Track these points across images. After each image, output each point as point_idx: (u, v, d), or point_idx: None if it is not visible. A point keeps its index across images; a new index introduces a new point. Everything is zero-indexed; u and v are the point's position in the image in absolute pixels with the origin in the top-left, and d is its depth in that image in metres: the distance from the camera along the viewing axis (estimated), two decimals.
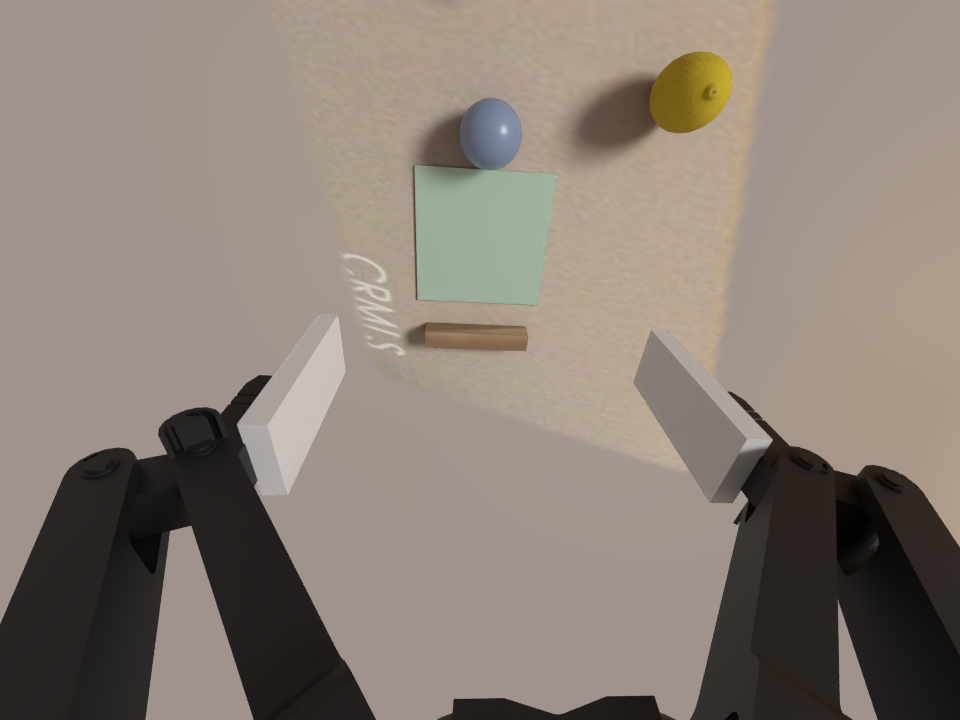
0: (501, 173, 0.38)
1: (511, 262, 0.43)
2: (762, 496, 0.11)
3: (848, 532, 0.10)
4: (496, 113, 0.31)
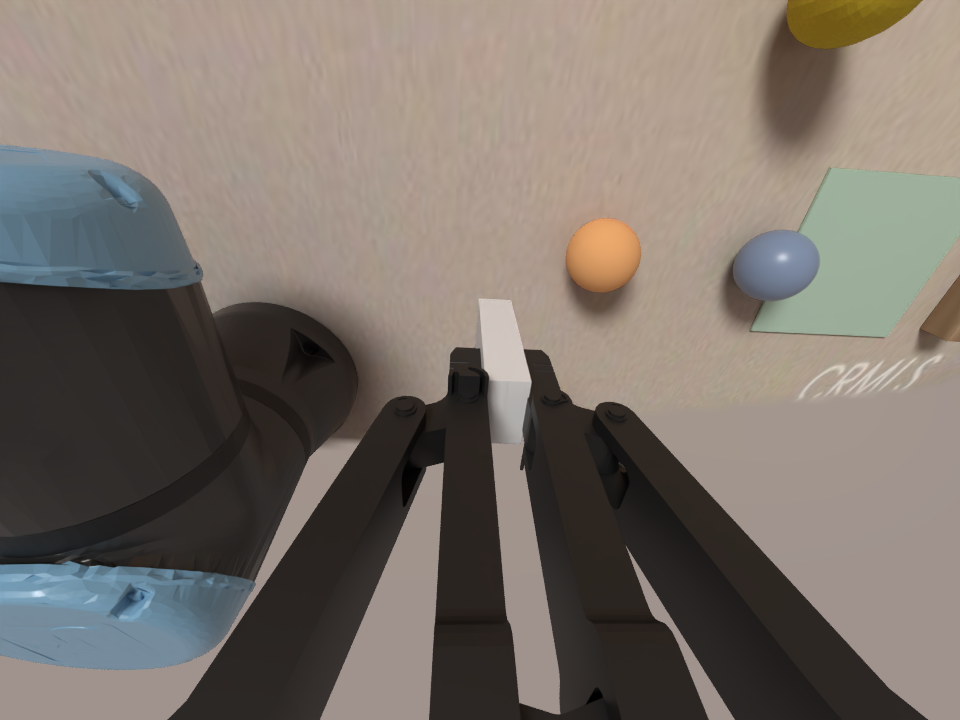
0: None
1: (910, 223, 0.32)
2: (532, 441, 0.12)
3: None
4: (774, 271, 0.29)
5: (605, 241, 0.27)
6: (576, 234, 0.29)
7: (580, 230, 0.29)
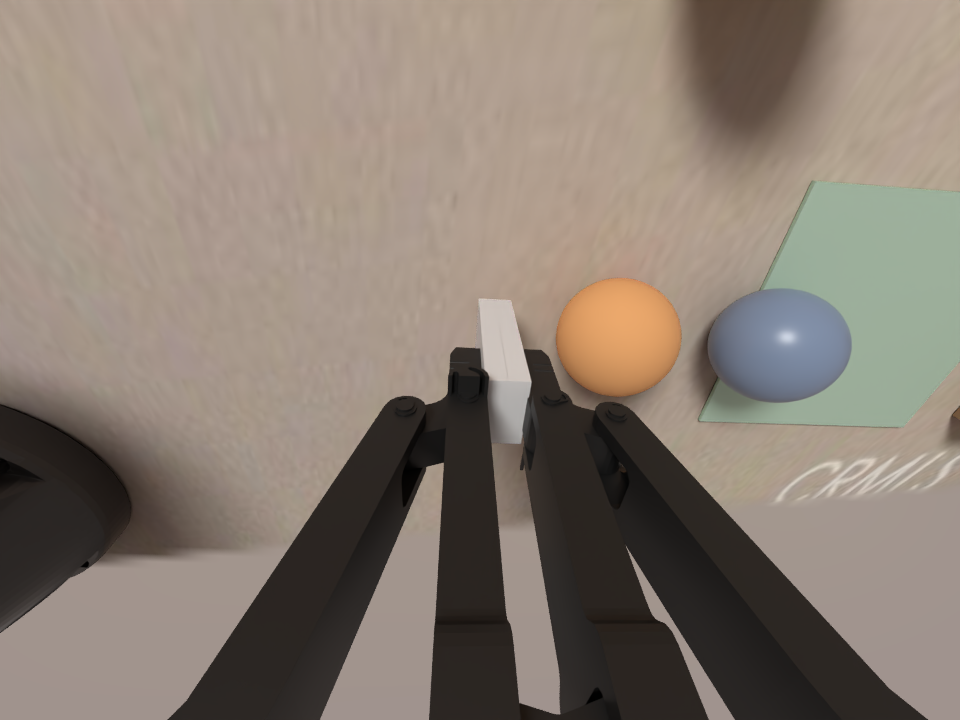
0: None
1: (945, 270, 0.20)
2: (533, 440, 0.12)
3: None
4: (834, 372, 0.17)
5: None
6: (677, 316, 0.17)
7: (673, 309, 0.17)
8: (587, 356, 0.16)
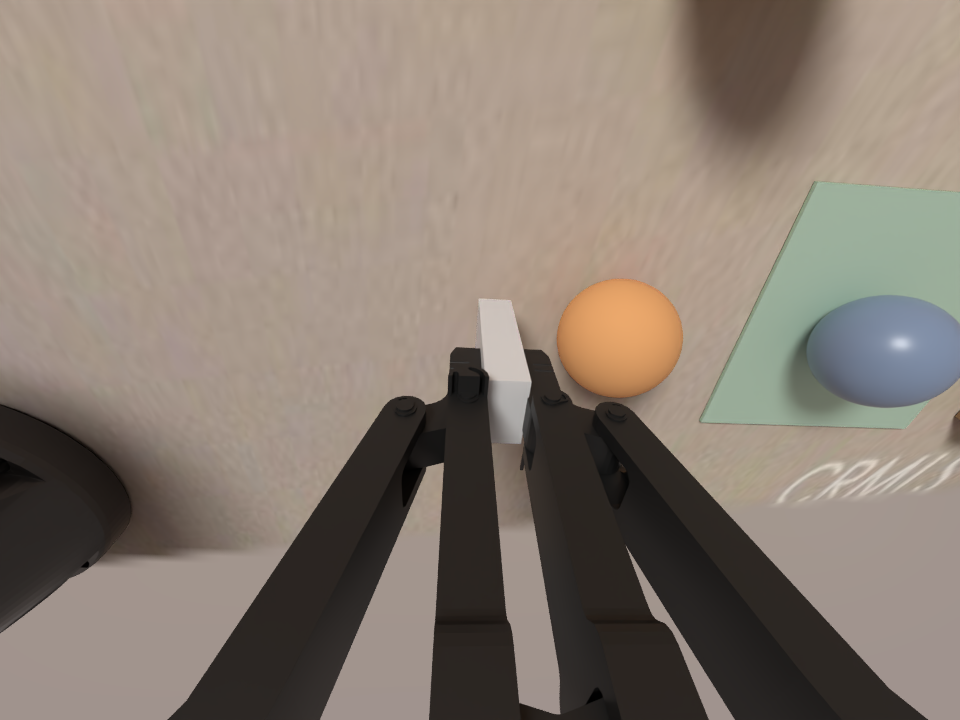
0: (766, 298, 0.20)
1: (948, 271, 0.20)
2: (533, 441, 0.12)
3: None
4: None
5: None
6: (678, 317, 0.17)
7: (675, 309, 0.17)
8: (588, 357, 0.16)
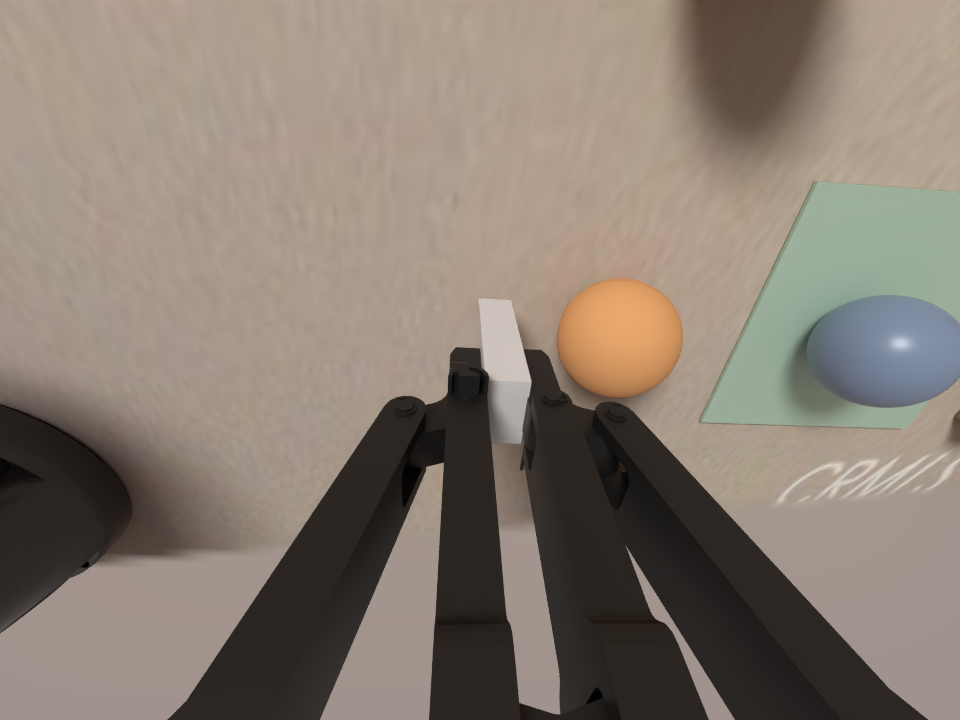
0: (766, 298, 0.20)
1: (948, 271, 0.20)
2: (533, 441, 0.12)
3: None
4: None
5: None
6: (678, 317, 0.17)
7: (675, 309, 0.17)
8: (588, 357, 0.16)
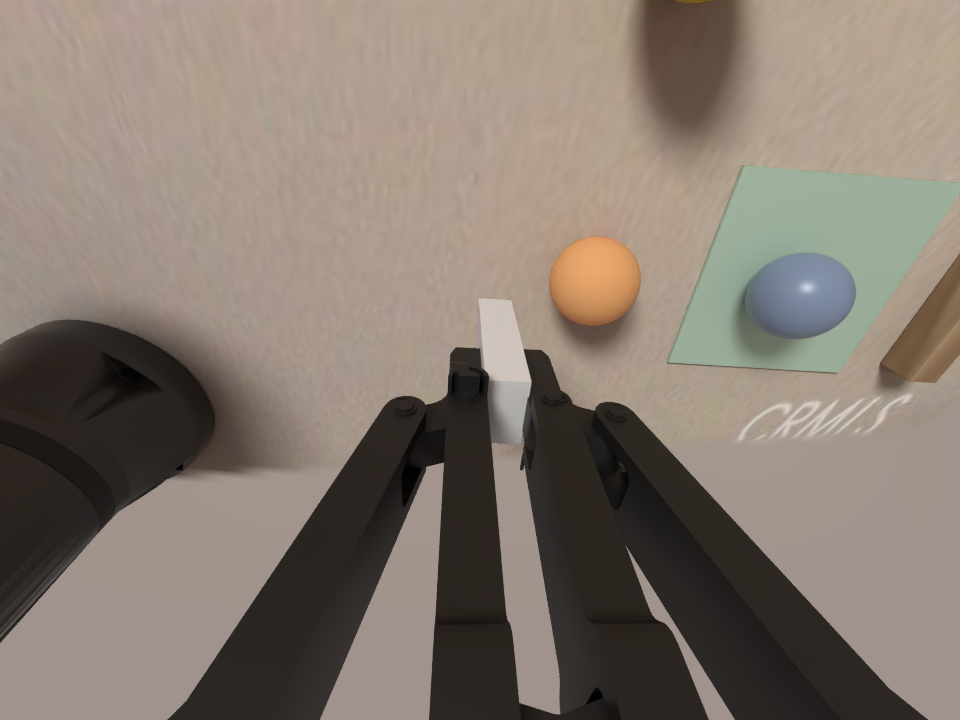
0: (712, 257, 0.26)
1: (855, 237, 0.25)
2: (533, 440, 0.12)
3: None
4: None
5: None
6: (637, 264, 0.23)
7: (635, 258, 0.23)
8: (569, 290, 0.23)
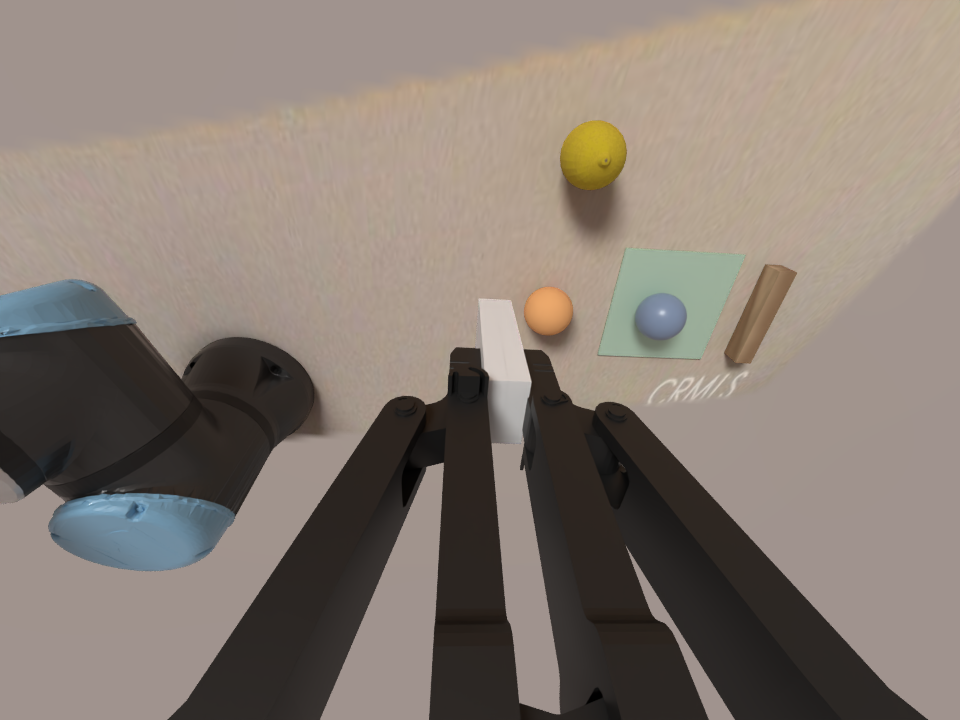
0: (615, 294, 0.46)
1: (692, 282, 0.46)
2: (533, 440, 0.12)
3: None
4: None
5: None
6: (570, 302, 0.43)
7: (569, 299, 0.43)
8: (534, 317, 0.43)
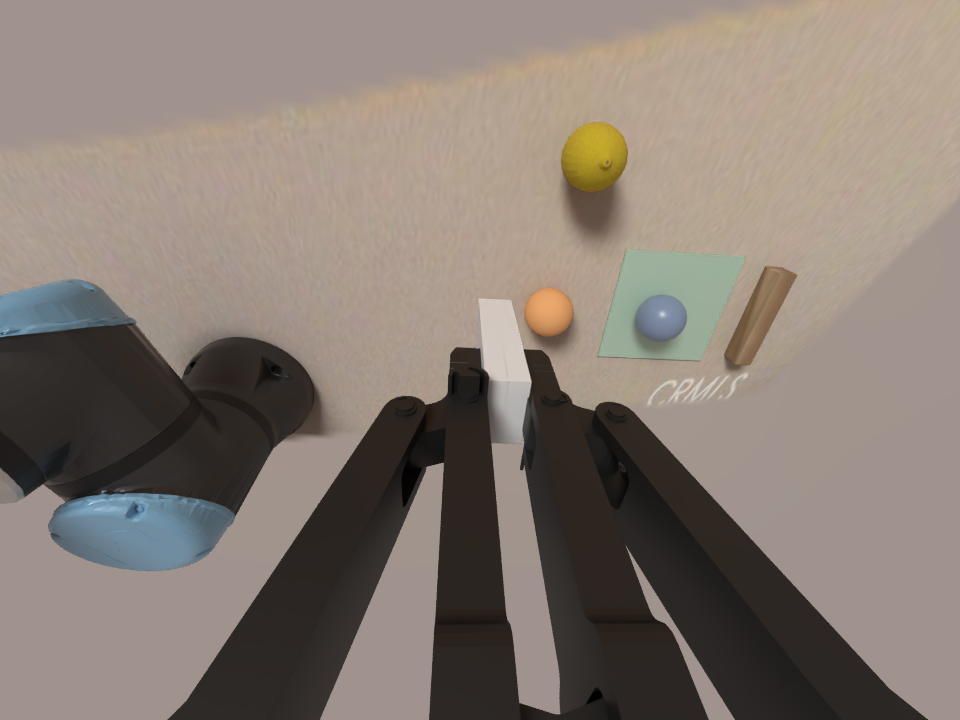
0: (616, 296, 0.46)
1: (693, 284, 0.46)
2: (533, 440, 0.12)
3: None
4: None
5: None
6: (571, 303, 0.43)
7: (569, 300, 0.43)
8: (534, 318, 0.43)
